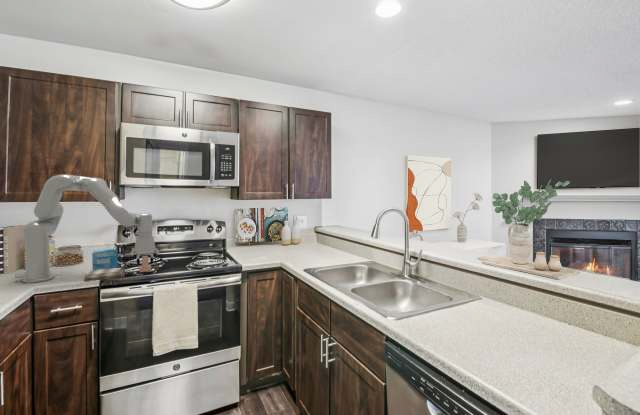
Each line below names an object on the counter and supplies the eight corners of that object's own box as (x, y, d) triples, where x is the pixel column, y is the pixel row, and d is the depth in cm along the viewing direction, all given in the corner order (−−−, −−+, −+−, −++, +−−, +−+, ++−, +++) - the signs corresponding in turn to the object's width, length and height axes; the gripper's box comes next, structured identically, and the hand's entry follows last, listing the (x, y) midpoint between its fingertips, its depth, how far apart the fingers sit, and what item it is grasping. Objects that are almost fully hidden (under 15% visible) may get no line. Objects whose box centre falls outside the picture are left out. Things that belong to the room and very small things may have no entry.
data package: (95, 272, 182) (94, 252, 181) (92, 271, 185) (92, 251, 184) (118, 268, 192) (117, 249, 191) (115, 267, 194) (114, 248, 194)
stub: (139, 272, 177) (139, 259, 177) (138, 268, 185) (138, 256, 185) (151, 271, 180) (151, 258, 180) (150, 267, 188) (150, 255, 188)
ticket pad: (84, 281, 164) (84, 274, 163) (86, 276, 172) (86, 270, 172) (124, 277, 173) (124, 270, 173) (124, 273, 182) (124, 266, 181)
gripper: (127, 236, 174) (127, 267, 175) (161, 234, 183) (161, 264, 184) (127, 234, 180) (127, 265, 181) (160, 233, 189) (160, 262, 190)
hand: (145, 264), depth 183 cm, fingers open, 5 cm apart
